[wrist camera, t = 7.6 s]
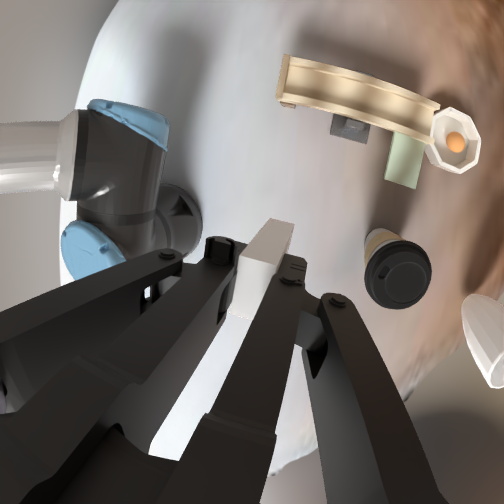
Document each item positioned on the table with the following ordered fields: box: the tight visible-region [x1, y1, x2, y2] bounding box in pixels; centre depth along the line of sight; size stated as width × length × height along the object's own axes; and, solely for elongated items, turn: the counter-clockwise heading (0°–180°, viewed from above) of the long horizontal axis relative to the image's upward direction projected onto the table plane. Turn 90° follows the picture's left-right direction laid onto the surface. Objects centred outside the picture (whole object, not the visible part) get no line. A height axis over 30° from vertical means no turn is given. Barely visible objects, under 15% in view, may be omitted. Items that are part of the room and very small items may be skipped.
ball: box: [446, 132, 465, 153], centre depth 34 cm, size 4×4×4 cm
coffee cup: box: [364, 228, 432, 309], centre depth 38 cm, size 9×9×15 cm
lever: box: [275, 54, 440, 189], centre depth 32 cm, size 22×13×3 cm, turn 79°
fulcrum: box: [280, 71, 373, 144], centre depth 36 cm, size 14×11×7 cm
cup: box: [461, 294, 504, 389], centre depth 33 cm, size 10×10×22 cm
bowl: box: [424, 107, 481, 174], centre depth 34 cm, size 10×10×4 cm
